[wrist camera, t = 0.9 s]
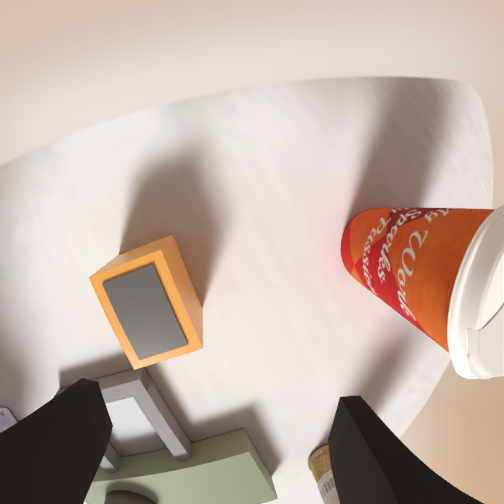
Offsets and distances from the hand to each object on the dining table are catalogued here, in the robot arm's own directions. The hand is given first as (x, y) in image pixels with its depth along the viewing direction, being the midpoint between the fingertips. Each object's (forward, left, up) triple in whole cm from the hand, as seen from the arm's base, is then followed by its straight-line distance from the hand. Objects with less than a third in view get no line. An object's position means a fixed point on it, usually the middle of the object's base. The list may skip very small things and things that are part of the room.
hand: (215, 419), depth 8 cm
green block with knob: (-11, -12, -13) cm, 21 cm away
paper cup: (+12, -1, -13) cm, 18 cm away
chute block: (-3, +2, -13) cm, 14 cm away
